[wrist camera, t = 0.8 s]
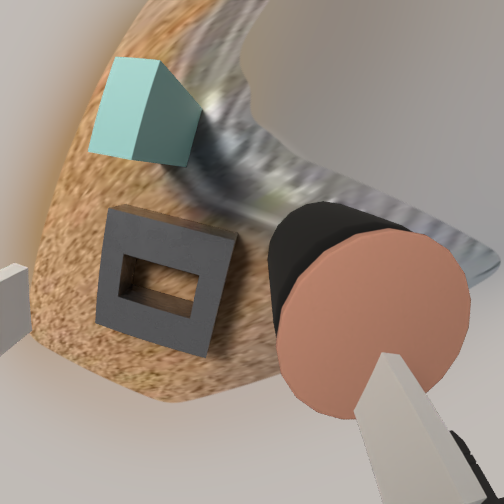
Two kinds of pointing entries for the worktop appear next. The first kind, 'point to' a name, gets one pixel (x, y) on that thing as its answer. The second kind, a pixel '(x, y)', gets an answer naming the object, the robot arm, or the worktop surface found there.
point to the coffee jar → (360, 303)
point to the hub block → (168, 254)
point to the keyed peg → (145, 114)
